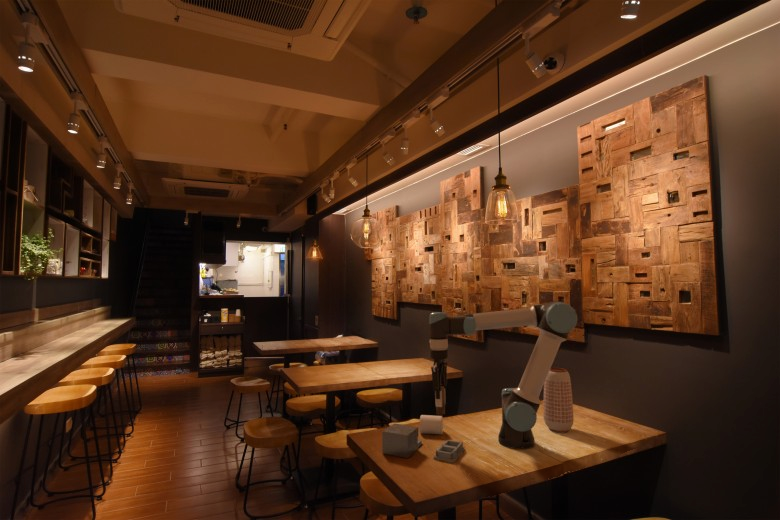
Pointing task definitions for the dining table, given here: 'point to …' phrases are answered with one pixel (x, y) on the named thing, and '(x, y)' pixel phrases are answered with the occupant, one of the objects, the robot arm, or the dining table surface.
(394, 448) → the block
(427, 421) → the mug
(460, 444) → the socket board
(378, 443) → the dining table surface
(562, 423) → the planter
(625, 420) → the dining table surface
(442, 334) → the robot arm
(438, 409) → the peg
